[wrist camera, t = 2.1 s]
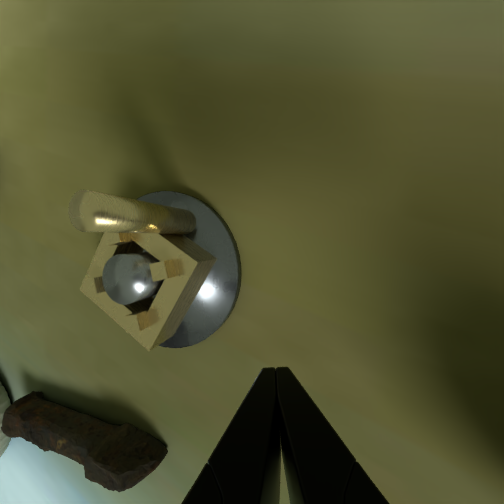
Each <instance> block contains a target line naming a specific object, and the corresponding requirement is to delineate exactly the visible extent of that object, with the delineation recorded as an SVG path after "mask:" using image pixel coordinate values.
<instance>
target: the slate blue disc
mask: <svg viewBox="0 0 504 504" xmlns="http://www.w3.org/2000/svg"><path fill="white" fill-rule="evenodd" d="M136 200H140V201H145V202H150V203H155V204H160V205H165V206H170V207H175V208H180V209H185V210H189V211H191V212H192V213H193V214H194V216H195V218H196V226H195V228H194V230H193V231H192V232H191V233H189V234H183V235H185V236H186V237H187V238H189V239H190V240H192V241H193V242H194V243H196V244H197V245H199V246H200V247H202V248H203V249H204V250H206V251H207V252H209V253H210V254H211V255H213V256H214V257H216V258H217V260H216V262H215V264H214V266H213V267H212V269H211V271H210V273H209V274H208V276H207V278H206V280H205V281H204V283H203V285H202V287H201V288H200V290H199V292H198V294H197V295H196V297H195V299H194V301H193V303H192V304H191V306H190V308H189V310H188V311H187V313H186V315H185V317H184V318H183V320H182V322H181V324H180V325H179V327H178V329H177V331H176V332H175V334H174V335H173V336H172V337H170V338H169V339H167V340H166V341H164V342H163V343H161V344H160V345H159V346H162V347H169V348H182V347H187V346H191V345H194V344H197V343H199V342H201V341H203V340H205V339H206V338H207V337H209V336H210V335H211V334H213V333H214V332H215V331H216V330H217V329H219V327H220V326H221V325H222V324H223V323H224V322H225V321H226V320H227V318H228V317H229V315H230V314H231V312H232V310H233V308H234V306H235V304H236V301H237V298H238V295H239V290H240V286H241V261H240V255H239V251H238V247H237V244H236V241H235V239H234V237H233V234H232V232H231V231H230V229H229V227H228V226H227V224H226V223H225V221H224V220H223V219H222V218H221V216H220V215H219V214H218V213H217V212H216V211H215V210H214V209H213V208H211V207H210V206H209V205H207V204H206V203H204V202H202V201H201V200H199V199H197V198H194V197H191V196H189V195H186V194H182V193H178V192H172V191H160V192H154V193H150V194H147V195H144V196H142V197H140V198H138V199H136ZM156 262H161V261H159V260H158V259H157V258H155V257H154V256H153V255H151V254H150V253H149V252H147V251H146V250H145V249H144V250H143V252H141V253H129V254H118V255H114V256H112V257H111V258H110V259H109V260H108V261H107V262H106V264H105V266H104V269H103V274H102V281H103V286H104V289H105V291H106V293H107V294H108V296H109V297H110V298H111V299H112V300H113V301H114V302H116V303H118V304H122V305H127V304H131V303H134V302H137V301H140V300H142V299H145V298H148V297H151V296H152V297H153V298H155V297H156V295H157V293H158V291H159V289H160V287H161V286H162V284H163V282H164V280H165V279H163V280H159V281H154V282H153V280H152V275H151V270H150V266H149V264H152V263H156Z"/></svg>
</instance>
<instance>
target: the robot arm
mask: <svg viewBox="0 0 504 504" xmlns="http://www.w3.org/2000/svg"><path fill="white" fill-rule="evenodd" d="M280 438H281V440H280ZM281 449H282V457H283V463H284V469H285V475H286V481H287V487H288V493H289V498H290V504H389V503H388V501H387V500H386V499H385V497H384V496H383V495H382V493H381V492H380V491H379V490H378V488H377V487H376V486H375V484H374V483H373V482H372V480H371V479H370V478H369V476H368V475H367V474H366V472H365V471H364V470H363V468H362V467H361V465H360V464H359V463H358V462H356V459H355V457H354V456H353V455H352V453H351V452H350V451H349V449H348V448H347V447H346V445H345V444H344V442H343V441H342V440H341V438H340V437H339V436H338V434H337V433H336V431H335V430H334V429H333V427H332V426H331V425H330V423H329V422H328V421H327V419H326V418H325V416H324V415H323V414H322V412H321V411H320V410H319V408H318V407H317V406H316V404H315V403H314V401H313V400H312V399H311V397H310V396H309V395H308V393H307V392H306V390H305V389H304V388H303V386H302V385H301V384H300V382H299V381H298V380H297V378H296V377H295V375H294V374H293V373H292V371H291V370H290V369H289V368H288V367H277V368H276V370H275V368H274V367H269V368H263V369H262V370H261V371H260V373H259V375H258V377H257V378H256V380H255V382H254V383H253V385H252V387H251V388H250V390H249V392H248V393H247V395H246V397H245V399H244V400H243V402H242V404H241V405H240V407H239V409H238V410H237V412H236V414H235V415H234V417H233V419H232V420H231V422H230V424H229V426H228V427H227V429H226V431H225V432H224V434H223V436H222V437H221V439H220V441H219V442H218V444H217V446H216V448H215V449H214V451H213V453H212V454H211V456H210V458H209V459H208V463H206V464H205V466H204V467H203V469H202V471H201V473H200V474H199V476H198V478H197V479H196V481H195V483H194V484H193V486H192V487H191V489H190V491H189V492H188V494H187V495H186V497H185V499H184V500H183V502H182V503H181V504H279V498H280V470H281Z"/></svg>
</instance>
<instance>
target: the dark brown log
mask: <svg viewBox="0 0 504 504" xmlns="http://www.w3.org/2000/svg"><path fill="white" fill-rule="evenodd" d="M1 430H2V432H3V434H5V435H6V436H7V437H10V438H12V437H22V438H24V439H25V440H26V441H29V442H32V444H35V445H37V446H38V447H39V448H40V449H43V450H44V451H49V450H51V451H54V452H56V453H58V454H62V455H64V456H66V457H68V458H70V459H72V460H74V461H76V462H78V463H79V464H82V465H83V466H84V470H85V478H87V479H89V480H90V481H92V482H96V483H98V484H100V485H102V486H103V487H104V488H107V489H108V490H112V491H115V490H117V491H118V492H121V491H125V490H126V489H129V488H132V487H133V486H135V485H136V484H137V483H139V482H140V481H141V480H143V479H144V478H145V477H147V476H148V475H149V474H150V473H151V472H153V471H154V470H155V469H156V468H157V467H158V465H159V464H160V463H161V462H162V460H163V459H164V458H165V456H166V454H167V453H168V450H167V448H166V447H164V444H162V443H161V442H160V441H158V440H157V439H155V438H154V437H153V436H151V435H150V434H147V433H145V432H143V431H141V430H139V429H138V428H136V427H134V426H133V425H131V424H129V423H124V424H123V425H121V426H117V425H111V424H109V423H105V422H103V421H101V420H99V419H96V418H94V417H92V416H91V415H86V414H82V413H79V412H76V411H74V410H71V409H69V408H66V407H63V406H61V405H58V404H55V403H53V402H49V401H46V400H44V399H43V393H42V392H39V391H33V392H31V393H30V394H28V395H26V396H24V397H22V398H20V399H18V400H16V401H15V402H14V403H13V404H11V405H10V406H9V407H8V408H7V409H6V411H5V412H4V414H3V419H2V427H1Z"/></svg>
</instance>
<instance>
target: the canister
mask: <svg viewBox="0 0 504 504" xmlns="http://www.w3.org/2000/svg"><path fill="white" fill-rule="evenodd" d="M10 405H11V403H10V399H9V397H8V394H7V392H6V391H5V388H4V386H2V384H1V382H0V457H1V456H2V454H3V453H4V451H5V450H6V449H7V447H8V445H9V442H10V441H11V438H10V437H7V436H6V435H5V434H3V432H2V430H1V427H2V419H3V414H4V412H5V411H6V409H7V408H8V407H9V406H10Z"/></svg>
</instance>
